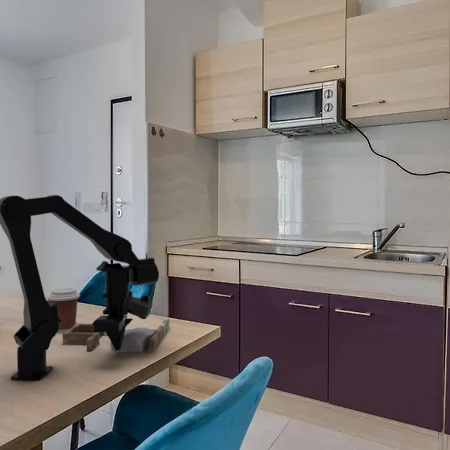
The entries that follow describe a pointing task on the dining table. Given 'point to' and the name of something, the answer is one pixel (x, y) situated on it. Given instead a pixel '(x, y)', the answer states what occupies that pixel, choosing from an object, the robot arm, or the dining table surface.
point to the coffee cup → (65, 306)
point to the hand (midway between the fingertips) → (117, 349)
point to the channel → (86, 336)
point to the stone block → (135, 340)
